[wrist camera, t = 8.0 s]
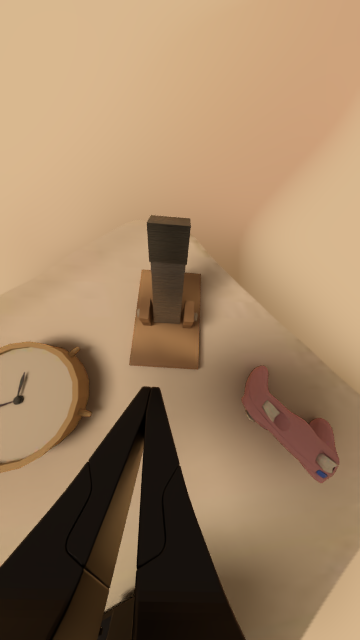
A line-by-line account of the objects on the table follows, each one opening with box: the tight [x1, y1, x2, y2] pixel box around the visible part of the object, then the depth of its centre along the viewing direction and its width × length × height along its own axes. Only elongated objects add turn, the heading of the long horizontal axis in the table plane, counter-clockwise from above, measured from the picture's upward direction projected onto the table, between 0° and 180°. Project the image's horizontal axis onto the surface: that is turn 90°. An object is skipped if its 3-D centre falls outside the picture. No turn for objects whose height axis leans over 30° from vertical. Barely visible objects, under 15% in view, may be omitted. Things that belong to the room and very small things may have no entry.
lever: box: [147, 215, 191, 324], centre depth 17 cm, size 2×3×10 cm, turn 87°
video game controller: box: [242, 366, 339, 483], centre depth 17 cm, size 10×5×7 cm, turn 47°
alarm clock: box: [0, 342, 92, 473], centre depth 17 cm, size 11×5×15 cm
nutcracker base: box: [129, 270, 201, 369], centre depth 20 cm, size 12×8×4 cm, turn 177°
